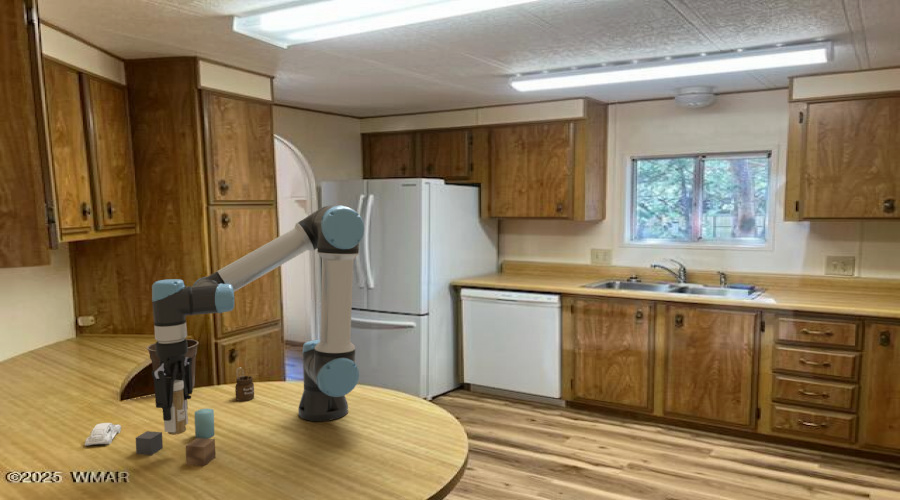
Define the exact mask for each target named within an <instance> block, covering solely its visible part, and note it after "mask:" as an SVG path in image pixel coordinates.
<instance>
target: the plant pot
mask: <svg viewBox="0 0 900 500" xmlns="http://www.w3.org/2000/svg"><path fill="white" fill-rule="evenodd" d="M185 339H186V340H187V345H188V352H187V353H186V354H185V357H190V358H192V365H191V369H192V390H193V389H194V388H195V384H196V383H195V382H196V378H195V376H196V357H197V356H196V355H197V353H198V346H199V341H198V340H195V339H192V338H191V339H189V338H185ZM155 343H156V342H154V343H151V344H150V345H148V346H147V347H146V350H147V351H148V353H149V359H150V361H151V366H152V371H153V370H155V371H156V370H157V369H158V368H159V363H160V359H159V357H157V356H156V349H155ZM187 390H188V389H187Z"/></svg>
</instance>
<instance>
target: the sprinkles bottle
mask: <svg viewBox="0 0 900 500" xmlns="http://www.w3.org/2000/svg"><path fill="white" fill-rule="evenodd" d="M183 388H184V382H183V381H182V380H175V381H174V388H173V401H172V407H175V422H176V432H167V434H168V435H171V436H174V435H175V436H177V435H180V434H183V433H185V432H186V431H187V427H186V425H185V407H184V395H183Z"/></svg>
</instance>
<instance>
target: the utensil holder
mask: <svg viewBox="0 0 900 500" xmlns="http://www.w3.org/2000/svg"><path fill="white" fill-rule="evenodd" d="M240 369H241V370H240ZM238 370H239V371H242V373H244V372H245V370H244V369H242V367H239V368H238V369H236V373H235V374H236V375H237V378H236V380H235V382H236V384H235V386H234V387H235V388H234V389H235V400H237V402H238V401H239V402H247V401H251V400H252V399H254V397H255V385H254V382H253V377H252V375H251V376H250V372H251V371H252V370H253V361H251V360H248V363H247V369H246V370H247V371H248V373H247V375H241V373H239V372H238ZM238 374H240V376H239V375H238Z"/></svg>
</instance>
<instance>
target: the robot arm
mask: <svg viewBox="0 0 900 500" xmlns="http://www.w3.org/2000/svg"><path fill="white" fill-rule="evenodd" d="M364 234H365V223H364V221H363V219H362V217H361V215H360V214H359V213H358V212H357V211H356V210H355V209H353V208H350V207H348V206H346V205H325V206H322V207H320V208H318V209H316V211H314V212H312V213H310V214H309V215H308V216H306V217H305V218H303V219H302V220H299V221H298V222H296V223H295V225H294V228H292V229H290V230H289V231H287V232H286V233H283V234H281V235H279V236H278V237H277V238H274V239H273V240H270V241H269V242H267V243H265V244H264V245H262V246H260V247H258V248H255V250H253V251H251V252H249V253H247V254H246V255H244V256H241V258H238V259H236V260H235V261H233V262H231V263H229V264H227V265H226V266H224V267H222V268H220V269H219V270H217V271H214V272H213V273H211V274H209V275H208V276H203V277H201V278H198V279H197V280H196V281H195V282H194V283H193V285H192V286H188V285H187V286H186V285H185V282H184V280H182V279H180V278H179V279H177V278H174V279H173V278H172V279H171V278H169V279H162V280H156V281H155V282H153V284H152V285H151V289H152V290H151V295H152V296H151V302H152V315H153V325H154V328H153V329H154V339H155V341H156V342H154V343H155V349H156V356H157V357H159V359H160V363H159V368H158V369H157V370H156V371H155V370H153V369H152V371H151V376H152V379H153V386H154V398H155V401H154V402H155V408H157V409H162V417H163V418H162V419H163V425H164V426H163V427H164V432H165V433H168V432H176V422H175V407H172V401H173V388H174V381H175V380H182V381H183V382H184V388H183V395H184V407H185V425H188V424H189V418H188V417H189V416H188V409H189V408H188V407H189V406H188V400H190V399H192V394H193V389H192V369H191V365H192V358H190V357H185V354H186V353H187V352H188V345H187V340H186V339H187V337H188V330H187V329H188V328H187V319H186V318H187V316H194V315H198V316H199V315H207V314H209V315H210V314H222V313H226V312H227V313H228V312H232V311H234V309H235V292H236V291H238V290H240V289H242V288H243V287H245V286H247V285H249V284H251V283H252V282H254V281H256V280H258V279H259V278H261V277H263V276H264V275H266V274H268V273H270V272H271V271H274V270H275V269H277V268H279V267H280V266H282V265H284V264H286V263H287V262H289V261H291V260H293V259H294V258H296V257H297V256H299V255H301V254H303V253H305V252H307V251H310V252H313V251H317V254H318V255H319V257H321V260H322V268H321V269H322V272H321V273H322V274H321V299H320V300H321V303H320V304H321V305H320V309H321V310H320V336H319V337H320V338H319V339H315V340H310V341H309V340H308V341H306V342H305V343H303V345H302V352H301V354H302V366H303V367H302V369H303V370H302V371H303V391H302V395H301V398H300V401H299V405H298V409H297V410H298V411H297V412H298V416H299V417H300V418H301V419H302V420H305V421H309V422H310V421H311V422H327V421H333V420H337V419H340V418H342V417H344V416H345V415H347V414H348V412H349V404H348V400H347V397H346V396H347V395H348V394H349V393H351V392H352V391H353V390H354V389H355V388H356V386H357V385H358V382H359V380H360V369H359V367H358V365H357V363H356V346H355V345H354V344H353V343H352V341H351V334H352V309H353V308H352V307H353V305H352V303H353V302H352V299H353V278H354V277H353V275H354V274H353V273H354V272H353V271H354V259H355V258H356V257H357V256H358V255H359V253H360V242H361V241H362V239H363V237H364ZM187 389H188V390H187Z"/></svg>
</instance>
